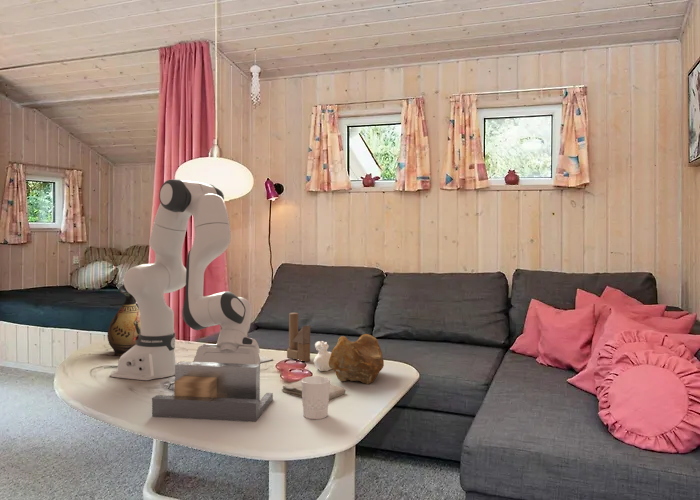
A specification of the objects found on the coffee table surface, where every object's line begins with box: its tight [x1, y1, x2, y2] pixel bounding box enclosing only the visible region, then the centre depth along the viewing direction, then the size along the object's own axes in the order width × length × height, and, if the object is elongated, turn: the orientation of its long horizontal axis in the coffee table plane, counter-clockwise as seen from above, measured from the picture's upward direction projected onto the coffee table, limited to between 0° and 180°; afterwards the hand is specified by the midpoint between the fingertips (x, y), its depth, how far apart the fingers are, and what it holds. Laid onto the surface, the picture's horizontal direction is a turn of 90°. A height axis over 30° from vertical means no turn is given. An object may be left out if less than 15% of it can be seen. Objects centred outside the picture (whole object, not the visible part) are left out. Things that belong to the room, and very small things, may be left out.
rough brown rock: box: [329, 333, 385, 385], centre depth 189 cm, size 23×17×15 cm
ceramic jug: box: [106, 284, 141, 357], centre depth 223 cm, size 17×15×30 cm
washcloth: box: [281, 378, 346, 401], centre depth 173 cm, size 12×18×3 cm, turn 55°
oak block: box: [174, 376, 217, 398], centre depth 155 cm, size 10×6×9 cm, turn 84°
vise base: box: [151, 392, 274, 422], centre depth 158 cm, size 29×19×5 cm, turn 84°
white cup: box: [301, 375, 331, 420], centre depth 152 cm, size 8×8×10 cm
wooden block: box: [286, 312, 311, 363], centre depth 216 cm, size 4×11×18 cm, turn 42°
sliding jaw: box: [174, 361, 261, 401], centre depth 159 cm, size 24×4×12 cm, turn 84°
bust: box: [312, 340, 333, 372], centre depth 203 cm, size 12×8×11 cm
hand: (221, 385), depth 162 cm, fingers closed, pressing on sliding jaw
